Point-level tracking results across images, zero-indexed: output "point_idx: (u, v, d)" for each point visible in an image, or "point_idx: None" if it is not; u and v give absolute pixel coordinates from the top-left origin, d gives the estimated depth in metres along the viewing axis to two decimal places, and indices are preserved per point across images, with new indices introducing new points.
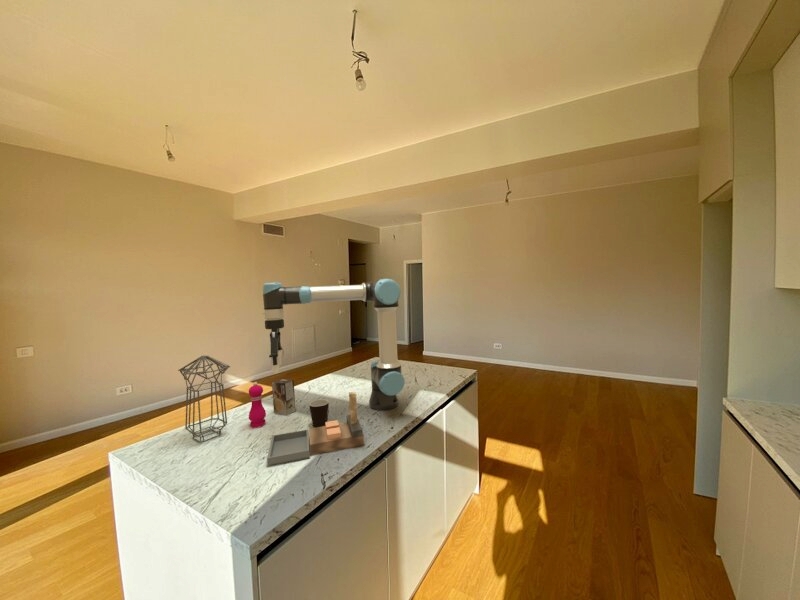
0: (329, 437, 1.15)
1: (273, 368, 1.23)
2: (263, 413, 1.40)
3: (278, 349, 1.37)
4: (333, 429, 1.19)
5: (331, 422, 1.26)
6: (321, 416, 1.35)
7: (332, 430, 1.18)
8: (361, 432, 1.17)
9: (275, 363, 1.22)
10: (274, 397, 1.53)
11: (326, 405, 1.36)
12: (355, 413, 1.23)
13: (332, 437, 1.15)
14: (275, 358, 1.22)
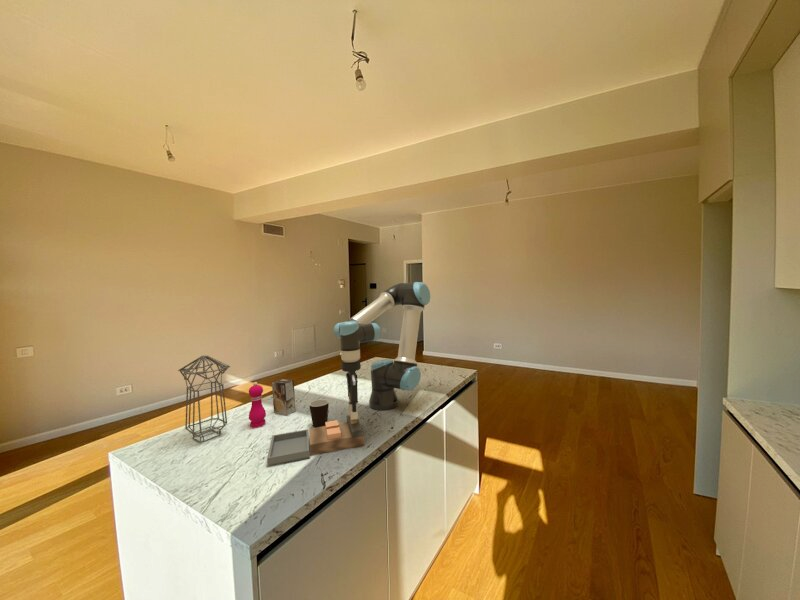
0: (329, 437, 1.15)
1: (352, 415, 1.22)
2: (263, 413, 1.40)
3: None
4: (333, 429, 1.19)
5: (331, 422, 1.26)
6: (321, 416, 1.35)
7: (332, 430, 1.18)
8: (361, 432, 1.17)
9: (355, 410, 1.21)
10: (274, 397, 1.53)
11: (326, 405, 1.36)
12: None
13: (332, 437, 1.15)
14: (355, 405, 1.21)
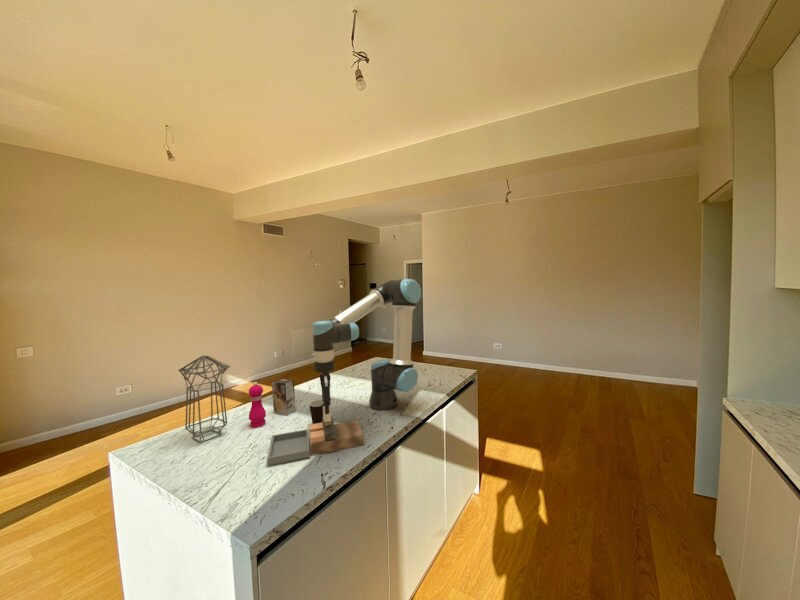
0: (313, 441, 1.13)
1: (325, 417, 1.18)
2: (263, 413, 1.40)
3: None
4: (317, 432, 1.17)
5: (316, 424, 1.24)
6: (321, 416, 1.35)
7: (316, 433, 1.16)
8: (334, 434, 1.14)
9: (327, 412, 1.17)
10: (274, 397, 1.53)
11: None
12: None
13: (315, 440, 1.13)
14: (327, 407, 1.17)
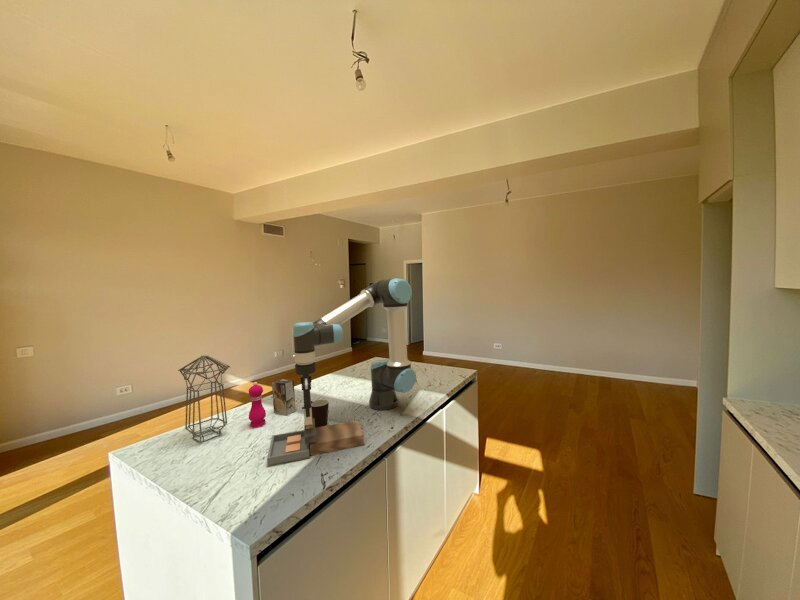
0: None
1: (306, 420, 1.16)
2: (263, 413, 1.40)
3: None
4: None
5: None
6: (321, 416, 1.35)
7: None
8: (314, 437, 1.11)
9: (308, 415, 1.15)
10: (274, 397, 1.53)
11: (326, 405, 1.36)
12: None
13: None
14: (308, 410, 1.15)
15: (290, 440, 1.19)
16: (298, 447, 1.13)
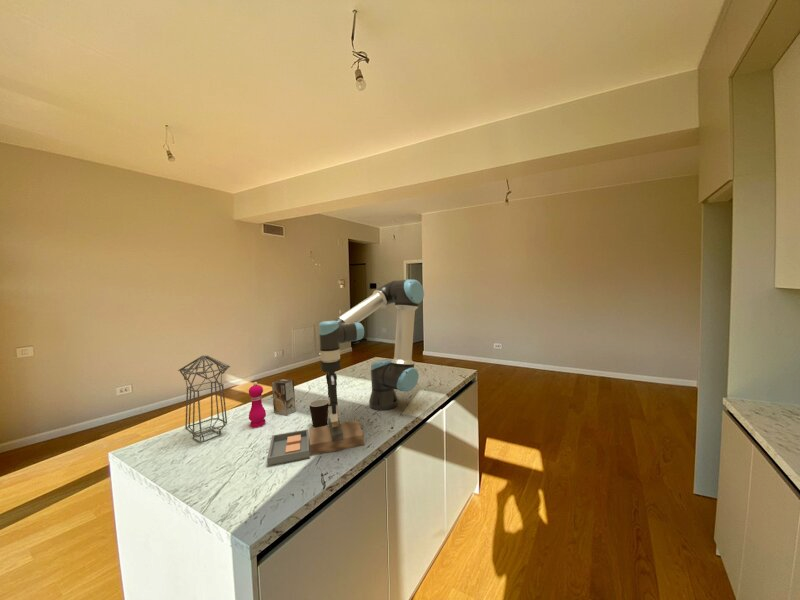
0: None
1: (332, 417, 1.17)
2: (263, 413, 1.40)
3: None
4: None
5: None
6: (321, 416, 1.35)
7: None
8: (341, 436, 1.14)
9: (334, 412, 1.16)
10: (274, 397, 1.53)
11: (326, 405, 1.36)
12: None
13: None
14: (334, 407, 1.16)
15: (290, 440, 1.19)
16: (298, 447, 1.13)
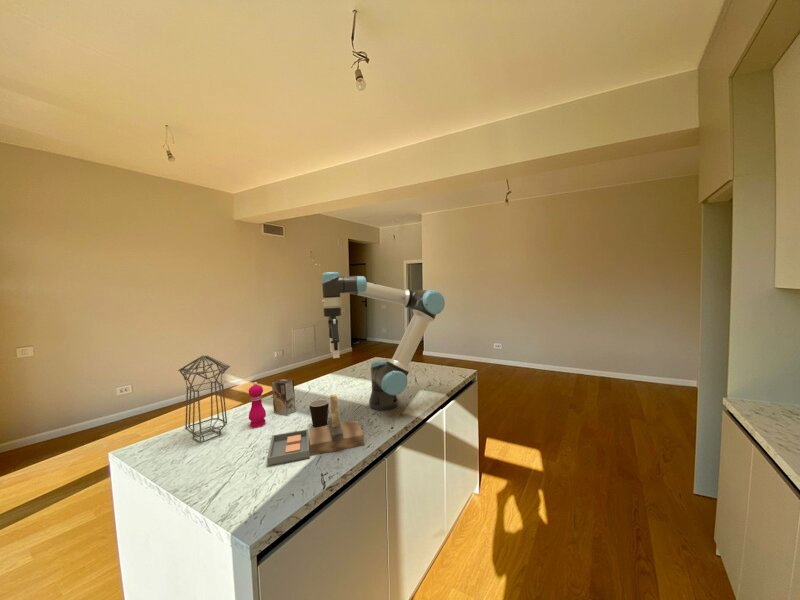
0: None
1: (334, 353, 1.29)
2: (263, 413, 1.40)
3: None
4: None
5: None
6: (321, 416, 1.35)
7: None
8: (341, 436, 1.14)
9: (336, 348, 1.28)
10: (274, 397, 1.53)
11: (326, 405, 1.36)
12: (336, 416, 1.20)
13: None
14: (336, 344, 1.28)
15: (290, 440, 1.19)
16: (298, 447, 1.13)
